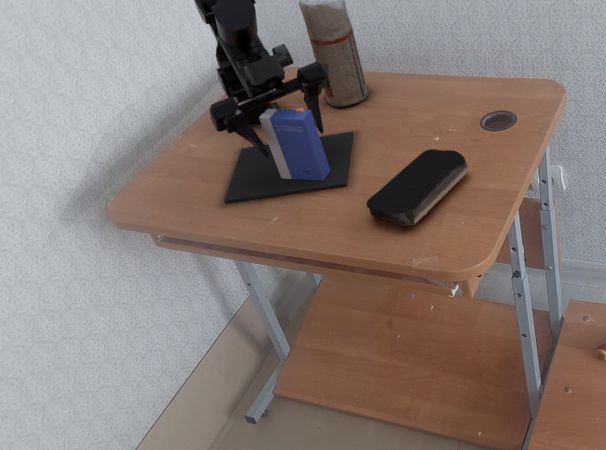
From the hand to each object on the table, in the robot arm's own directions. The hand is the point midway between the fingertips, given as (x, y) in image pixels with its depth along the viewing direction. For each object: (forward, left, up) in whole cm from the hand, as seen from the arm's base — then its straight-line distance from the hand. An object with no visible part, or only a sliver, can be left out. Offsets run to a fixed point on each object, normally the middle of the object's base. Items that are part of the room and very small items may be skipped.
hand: (295, 144), depth 109 cm
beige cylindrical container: (-26, +4, -8) cm, 28 cm away
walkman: (-2, -1, -7) cm, 8 cm away
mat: (-5, -4, -8) cm, 10 cm away
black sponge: (+8, +18, -8) cm, 21 cm away
